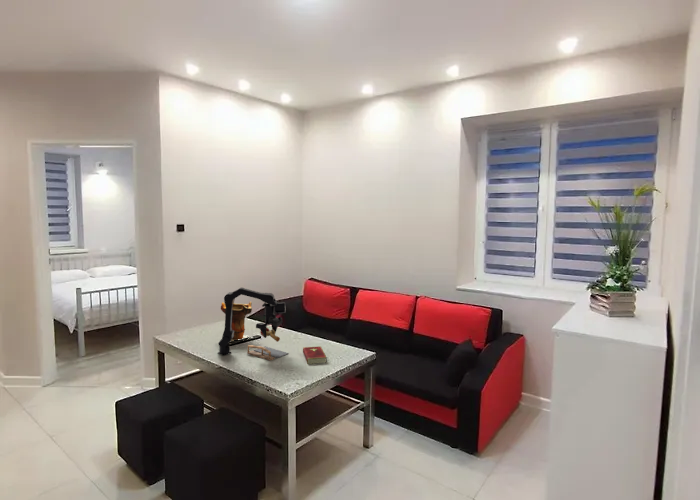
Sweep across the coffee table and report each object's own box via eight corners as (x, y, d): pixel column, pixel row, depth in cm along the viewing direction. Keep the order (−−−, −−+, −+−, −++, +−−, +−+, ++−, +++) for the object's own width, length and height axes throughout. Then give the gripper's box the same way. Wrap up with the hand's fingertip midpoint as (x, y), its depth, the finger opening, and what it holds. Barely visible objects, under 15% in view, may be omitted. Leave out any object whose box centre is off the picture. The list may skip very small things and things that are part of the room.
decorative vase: (250, 342, 285) (247, 303, 283) (217, 343, 286) (215, 304, 283) (257, 333, 306) (255, 297, 304) (227, 334, 306) (224, 298, 304)
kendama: (283, 341, 261) (268, 332, 274) (283, 333, 259) (267, 323, 272) (273, 346, 256) (258, 336, 269) (272, 337, 254) (257, 327, 267)
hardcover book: (307, 364, 248) (307, 358, 247) (302, 353, 268) (302, 347, 268) (326, 363, 251) (326, 356, 250) (320, 352, 271) (320, 345, 271)
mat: (253, 350, 269) (253, 350, 269) (265, 347, 277) (265, 346, 277) (277, 358, 256) (277, 357, 256) (288, 353, 265) (288, 353, 265)
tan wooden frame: (247, 353, 264) (247, 345, 263) (252, 351, 267) (252, 343, 267) (269, 360, 252) (269, 352, 251) (274, 358, 255) (274, 350, 255)
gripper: (267, 317, 251) (267, 342, 252) (288, 312, 266) (288, 335, 267) (255, 315, 258) (255, 339, 259) (276, 309, 273) (276, 332, 274)
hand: (269, 336), depth 265 cm, fingers closed on kendama, 7 cm apart
